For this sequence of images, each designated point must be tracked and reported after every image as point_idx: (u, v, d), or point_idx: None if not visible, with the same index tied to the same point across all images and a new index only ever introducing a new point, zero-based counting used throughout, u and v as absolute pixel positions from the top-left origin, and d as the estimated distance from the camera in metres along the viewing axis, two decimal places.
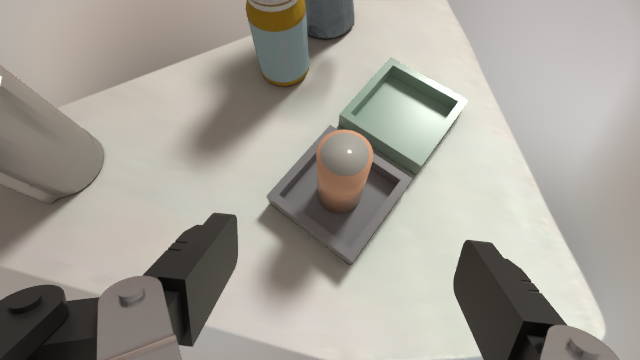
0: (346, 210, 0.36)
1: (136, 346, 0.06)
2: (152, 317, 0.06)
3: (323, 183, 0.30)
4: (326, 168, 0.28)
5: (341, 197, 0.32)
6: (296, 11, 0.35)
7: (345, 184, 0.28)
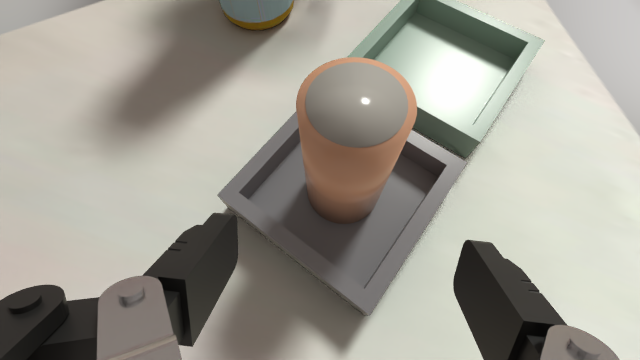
0: (356, 218, 0.21)
1: (136, 346, 0.06)
2: (152, 317, 0.06)
3: (313, 168, 0.15)
4: (317, 131, 0.13)
5: (348, 196, 0.17)
6: None
7: (359, 167, 0.13)
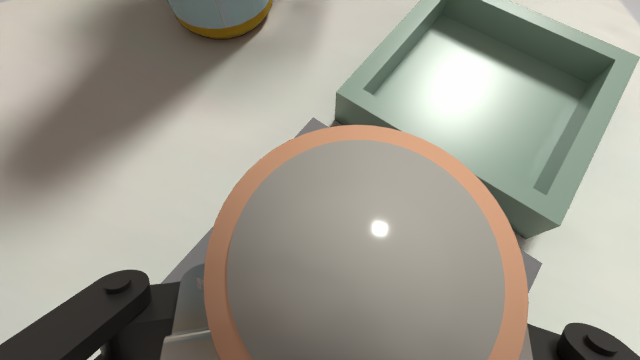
0: None
1: (204, 328, 0.06)
2: None
3: None
4: (253, 358, 0.05)
5: None
6: None
7: None
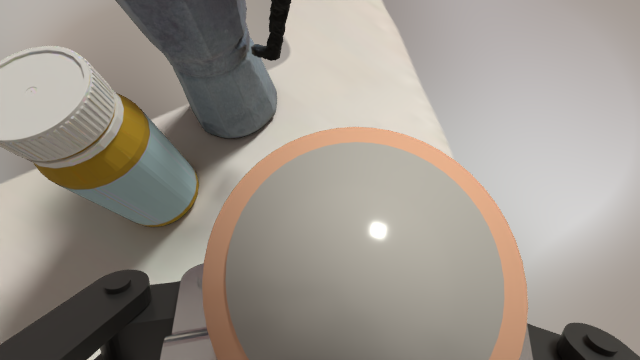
0: None
1: (204, 327, 0.06)
2: None
3: None
4: None
5: None
6: (115, 155, 0.19)
7: None
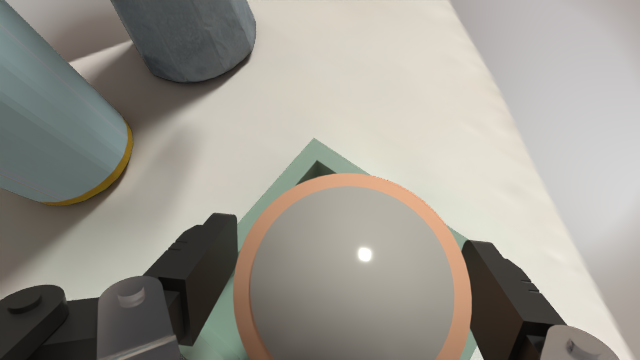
0: None
1: (136, 346, 0.06)
2: (152, 317, 0.06)
3: None
4: (271, 352, 0.06)
5: None
6: None
7: None
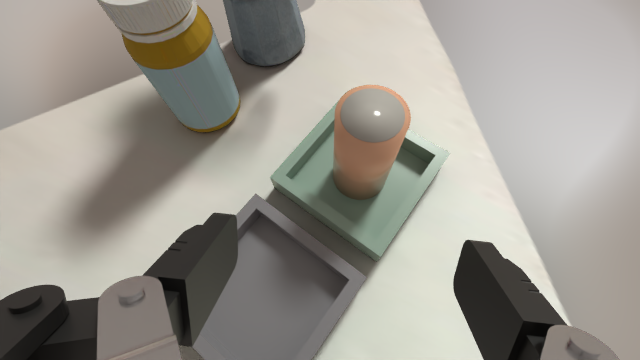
0: (369, 195, 0.29)
1: (136, 346, 0.06)
2: (152, 317, 0.06)
3: (343, 156, 0.23)
4: (348, 132, 0.21)
5: (365, 176, 0.25)
6: (191, 40, 0.24)
7: (374, 155, 0.21)
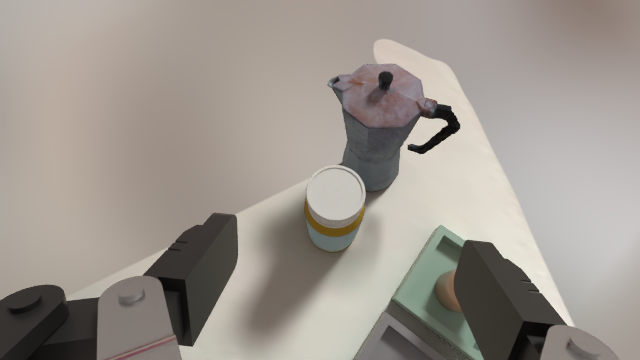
0: None
1: (136, 346, 0.06)
2: (152, 317, 0.06)
3: None
4: None
5: None
6: (358, 219, 0.35)
7: None
